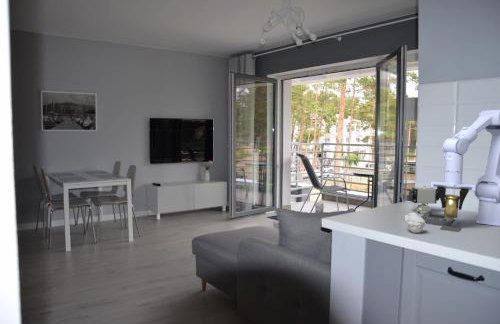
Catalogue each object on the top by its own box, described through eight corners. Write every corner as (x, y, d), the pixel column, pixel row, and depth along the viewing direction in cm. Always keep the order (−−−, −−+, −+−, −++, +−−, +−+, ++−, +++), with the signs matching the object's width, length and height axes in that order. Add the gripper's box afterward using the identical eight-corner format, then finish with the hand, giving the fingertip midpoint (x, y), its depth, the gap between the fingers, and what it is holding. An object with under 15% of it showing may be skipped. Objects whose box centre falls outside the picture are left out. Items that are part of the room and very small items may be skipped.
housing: (426, 216, 164) (427, 210, 163) (453, 219, 158) (453, 213, 158) (419, 222, 152) (419, 216, 152) (447, 226, 147) (448, 220, 146)
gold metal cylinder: (458, 215, 144) (460, 195, 143) (457, 218, 140) (459, 198, 139) (443, 213, 146) (445, 193, 145) (442, 216, 142) (444, 196, 141)
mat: (461, 228, 144) (461, 227, 143) (458, 231, 139) (458, 230, 139) (443, 226, 147) (443, 225, 147) (440, 229, 142) (440, 228, 142)
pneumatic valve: (439, 214, 168) (440, 186, 167) (411, 214, 168) (413, 186, 168) (433, 211, 174) (434, 185, 173) (406, 211, 174) (408, 184, 173)
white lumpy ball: (409, 229, 142) (409, 210, 141) (428, 233, 137) (429, 213, 136) (400, 232, 138) (401, 212, 137) (420, 236, 133) (421, 215, 132)
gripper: (429, 170, 142) (427, 207, 143) (475, 173, 134) (473, 212, 135) (433, 169, 148) (431, 204, 149) (477, 172, 139) (475, 209, 140)
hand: (451, 208), depth 142 cm, fingers closed on gold metal cylinder, 5 cm apart
